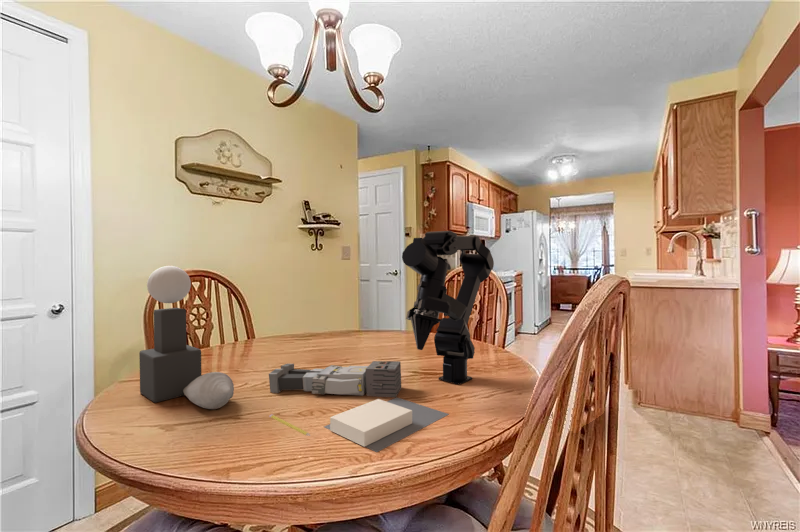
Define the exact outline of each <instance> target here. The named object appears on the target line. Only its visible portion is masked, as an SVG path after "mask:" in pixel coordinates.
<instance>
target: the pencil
mask: <svg viewBox="0 0 800 532" xmlns="http://www.w3.org/2000/svg"><path fill="white" fill-rule="evenodd" d="M268 417H269V418H271V419H272V420H273V419H274V420H275V421H276V422H279V423H281V424H283V425H285V426H286V427H289V428H290V429H293V430H294V431H296V432H298V433H300V434H302V435H305V436H308V437H311V433H309V432H308V431H306V430H304V429H302V428H300V427H298V426H296V425H294V424H292V423H289V422H288V421H286V420H284V419H282V418H280V417H278V416H276V415H274V414H272V413H270V414H269V416H268Z"/></svg>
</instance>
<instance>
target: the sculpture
mask: <svg viewBox="0 0 800 532" xmlns="http://www.w3.org/2000/svg"><path fill="white" fill-rule="evenodd" d="M146 283H147V284H146V288H147V291H148V293H149V295H150V296H151V297H152V299H154V300H155V301H157V302H159V303H163V304H175V303H177V302H180V301H182V300H183V299H185V297H186V296H188V294H189V293H190V290H191V286H192V281H191V278H190V276H189V274H188V273H187V272H186V271H185V270H184V269H182V268H180V267H179V266H176V265H165V266H161V267H158V268H156V269H155V270H153V271H152V272H151V274H150V275H149V277H148V278H147V282H146ZM153 343H154V344H153V346H154V347H153V348H150V349H143V350H140V351H139V392H140V394H141V395H143V396H144V397H146V398H147V399H148V400H150V401H151V402H152V403H159V402H162V401H163V402H164V401H166V400H168V401H169V400H171V399H175V398H179V397H182V396H185V394H184V392H183V390H184V388H185V387H187V386H188V385H189V384H190V383H191V382H192V381H193V380H195V379H196V378H198V377H199V376H201V375H202V350H201V349H200V348H198V347H194V346H192V345H189V344H187V310H186V309H185V308H181V307H169V308H159V309H154V310H153Z"/></svg>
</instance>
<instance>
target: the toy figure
mask: <svg viewBox="0 0 800 532" xmlns="http://www.w3.org/2000/svg"><path fill="white" fill-rule="evenodd" d="M401 371H402V369H401V361H394V360H393V361H392V360H391V361H387V360H386V361H384V360H383V361H382V360H376V361H375V360H373V361H372V362H371V363H370V364H369V365H349V366H341V365H340V366H339V365H333V364H331V365H329V366H326V367H325V368H314V369H304V368H301V369H300V368H295V363H285V364H282V365H280V368H275V369H273V370H272V371H271V372H269V373H268V381H269V383H268V384H269V391H270V392H269V393H271V392H272V394H279V393H280V392H282V391H294V390H295V391H296V390H297V391H298V390H299V391H301V390H302V391H303V392H311V394H316V395H325V394H331V395H333V394H334V395H346V396H347V395H350V396H364V395H365V394H366V396H367V397H378V398H379V397H381V398H392V399H394V398H397V396H398V394H399V393H400V391H401V390H402V372H401ZM281 390H282V391H281Z"/></svg>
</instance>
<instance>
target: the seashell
mask: <svg viewBox="0 0 800 532" xmlns="http://www.w3.org/2000/svg"><path fill="white" fill-rule="evenodd" d="M183 392H184V394H185V395H184V396H185V397H186V398H187V399H188V400H189V401H190V402H191V403H192V404H194V405H196V406H198V407H200V408H203V409H208V410H216V409H219V408H222V407H223V406H225V405H226V404H227V403H228V402H229V401H230V400H231V399H232V398H233V396H234V394H235V393H234V392H235V387H234V382H233V379H232V378H231V376H229V375H228V374H227V373H224V372H220V371H212V372H210V371H209V372H207V373H204V374H201V376H199V377H198V378H196V379H195V380H193V381H192V382H191V383H190V384H189V385H188V386H187V387H185V388H184V390H183Z"/></svg>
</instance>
